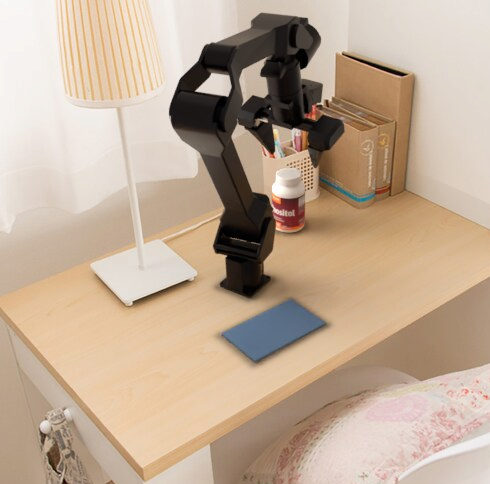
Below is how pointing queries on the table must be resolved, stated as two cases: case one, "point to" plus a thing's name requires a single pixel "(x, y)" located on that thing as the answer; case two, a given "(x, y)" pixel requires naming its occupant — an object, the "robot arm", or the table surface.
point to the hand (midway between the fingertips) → (294, 159)
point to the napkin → (273, 330)
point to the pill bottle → (288, 200)
